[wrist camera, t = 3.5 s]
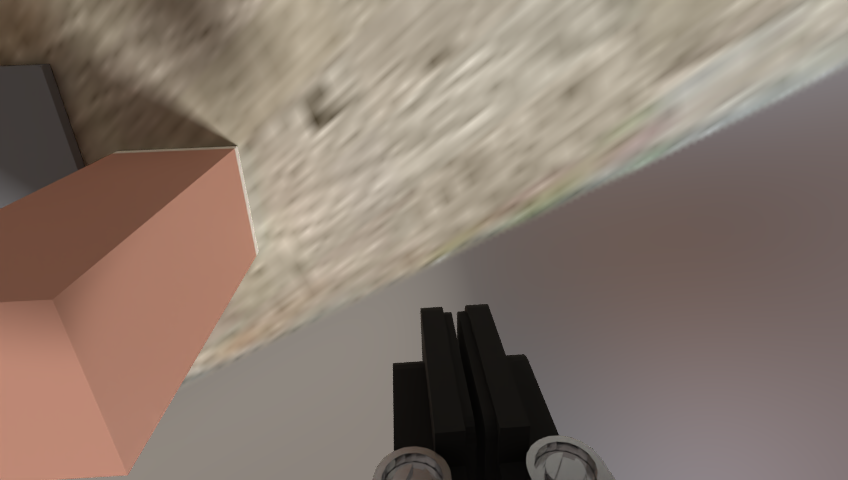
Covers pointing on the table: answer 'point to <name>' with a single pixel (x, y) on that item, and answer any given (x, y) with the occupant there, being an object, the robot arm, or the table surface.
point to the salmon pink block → (112, 303)
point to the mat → (33, 132)
